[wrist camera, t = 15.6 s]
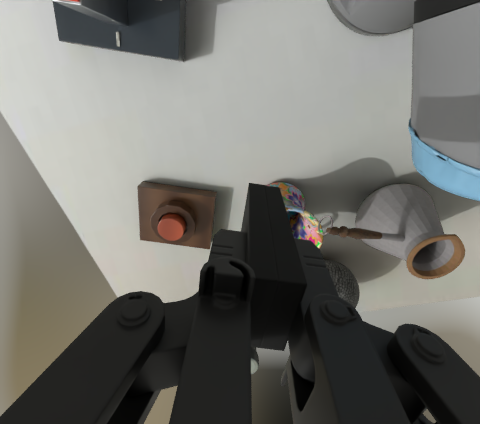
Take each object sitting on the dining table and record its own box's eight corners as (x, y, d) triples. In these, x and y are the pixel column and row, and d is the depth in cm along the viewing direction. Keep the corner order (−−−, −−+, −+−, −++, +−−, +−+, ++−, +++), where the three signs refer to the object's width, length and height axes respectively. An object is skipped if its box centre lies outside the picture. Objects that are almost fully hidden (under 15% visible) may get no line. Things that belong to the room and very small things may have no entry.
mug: (262, 169, 39) (266, 198, 30) (316, 188, 40) (337, 221, 31) (237, 231, 44) (234, 272, 35) (285, 246, 46) (295, 290, 36)
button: (186, 214, 39) (184, 220, 37) (185, 236, 41) (183, 242, 39) (160, 211, 39) (157, 216, 37) (160, 233, 41) (157, 239, 39)
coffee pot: (438, 191, 40) (532, 246, 26) (393, 247, 45) (454, 317, 32) (316, 144, 37) (353, 180, 24) (283, 209, 42) (299, 269, 29)
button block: (216, 191, 41) (213, 202, 37) (211, 242, 46) (208, 255, 42) (142, 181, 41) (132, 190, 37) (144, 233, 45) (135, 246, 42)
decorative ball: (285, 283, 50) (293, 327, 41) (305, 242, 45) (319, 282, 36) (332, 294, 51) (350, 339, 42) (356, 255, 46) (382, 297, 37)
